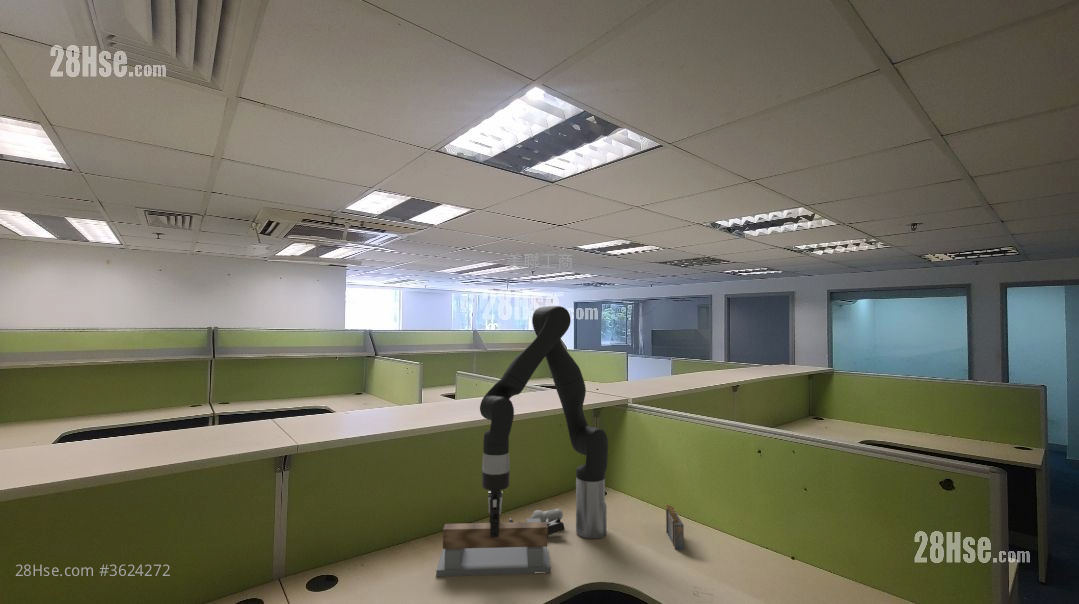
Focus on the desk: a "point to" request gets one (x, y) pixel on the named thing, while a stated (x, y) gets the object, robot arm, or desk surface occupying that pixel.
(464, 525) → the wooden plank
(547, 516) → the clip-on lamp
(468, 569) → the notch rack
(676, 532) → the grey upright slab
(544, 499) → the desk surface
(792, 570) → the desk surface
